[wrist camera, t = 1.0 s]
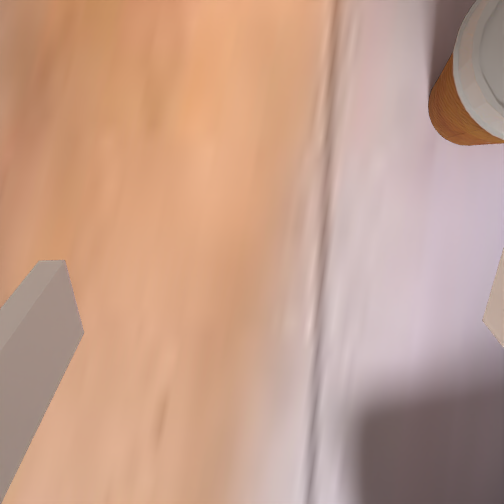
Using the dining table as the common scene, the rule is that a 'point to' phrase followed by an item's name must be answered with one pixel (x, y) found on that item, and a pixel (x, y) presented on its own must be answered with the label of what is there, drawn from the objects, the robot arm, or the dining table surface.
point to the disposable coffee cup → (473, 80)
